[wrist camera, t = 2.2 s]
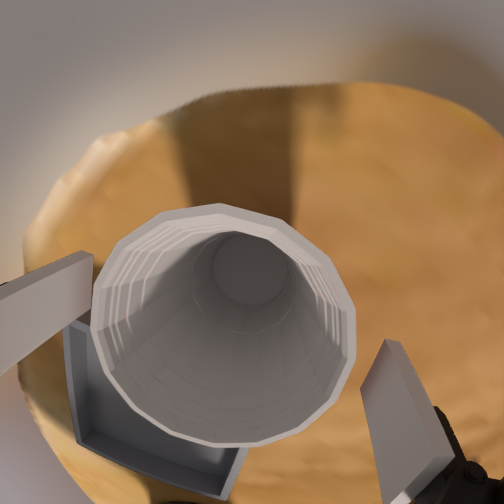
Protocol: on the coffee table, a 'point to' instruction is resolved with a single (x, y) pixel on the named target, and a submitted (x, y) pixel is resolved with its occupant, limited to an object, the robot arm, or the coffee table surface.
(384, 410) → the robot arm
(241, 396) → the plastic cup
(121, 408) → the bin
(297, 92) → the coffee table surface
